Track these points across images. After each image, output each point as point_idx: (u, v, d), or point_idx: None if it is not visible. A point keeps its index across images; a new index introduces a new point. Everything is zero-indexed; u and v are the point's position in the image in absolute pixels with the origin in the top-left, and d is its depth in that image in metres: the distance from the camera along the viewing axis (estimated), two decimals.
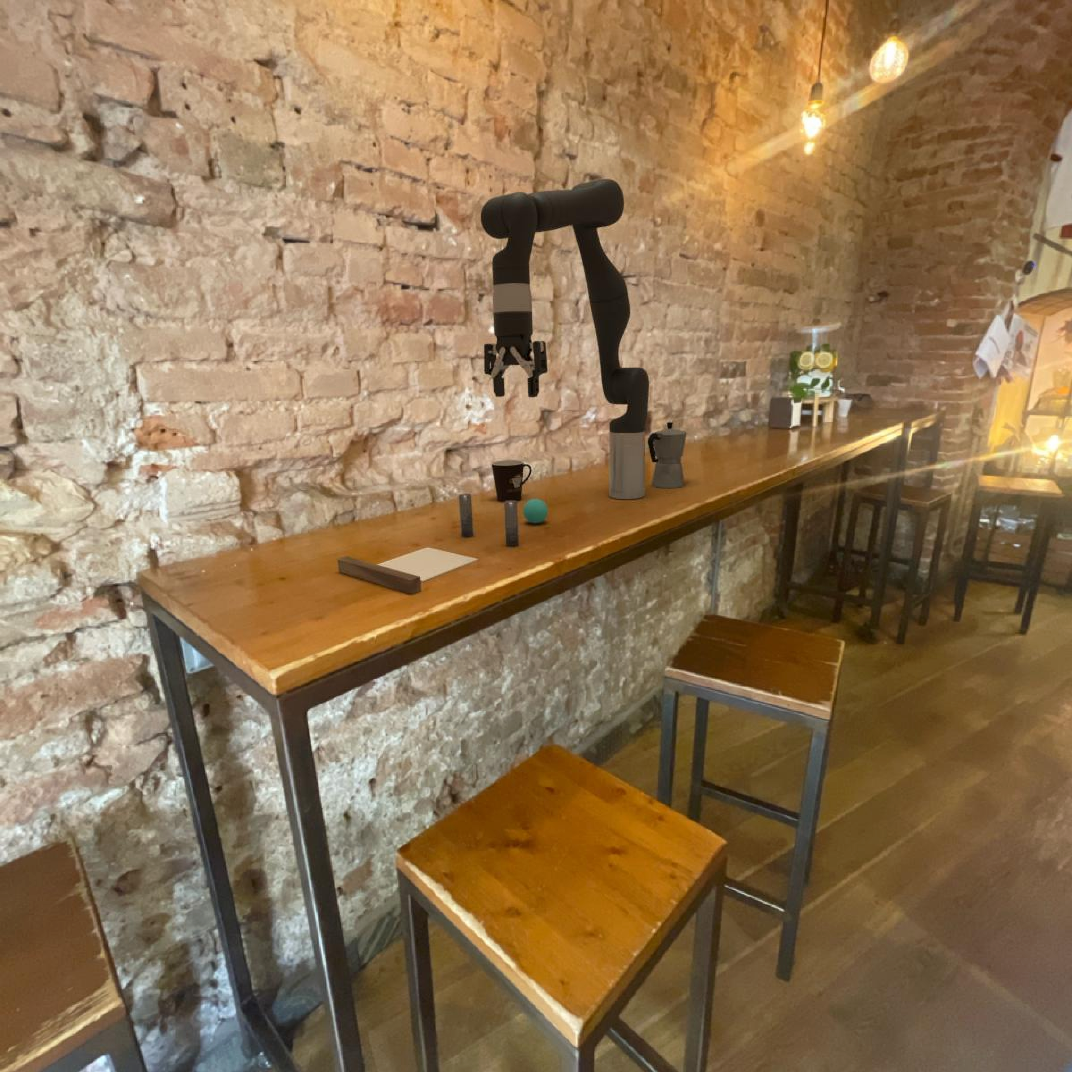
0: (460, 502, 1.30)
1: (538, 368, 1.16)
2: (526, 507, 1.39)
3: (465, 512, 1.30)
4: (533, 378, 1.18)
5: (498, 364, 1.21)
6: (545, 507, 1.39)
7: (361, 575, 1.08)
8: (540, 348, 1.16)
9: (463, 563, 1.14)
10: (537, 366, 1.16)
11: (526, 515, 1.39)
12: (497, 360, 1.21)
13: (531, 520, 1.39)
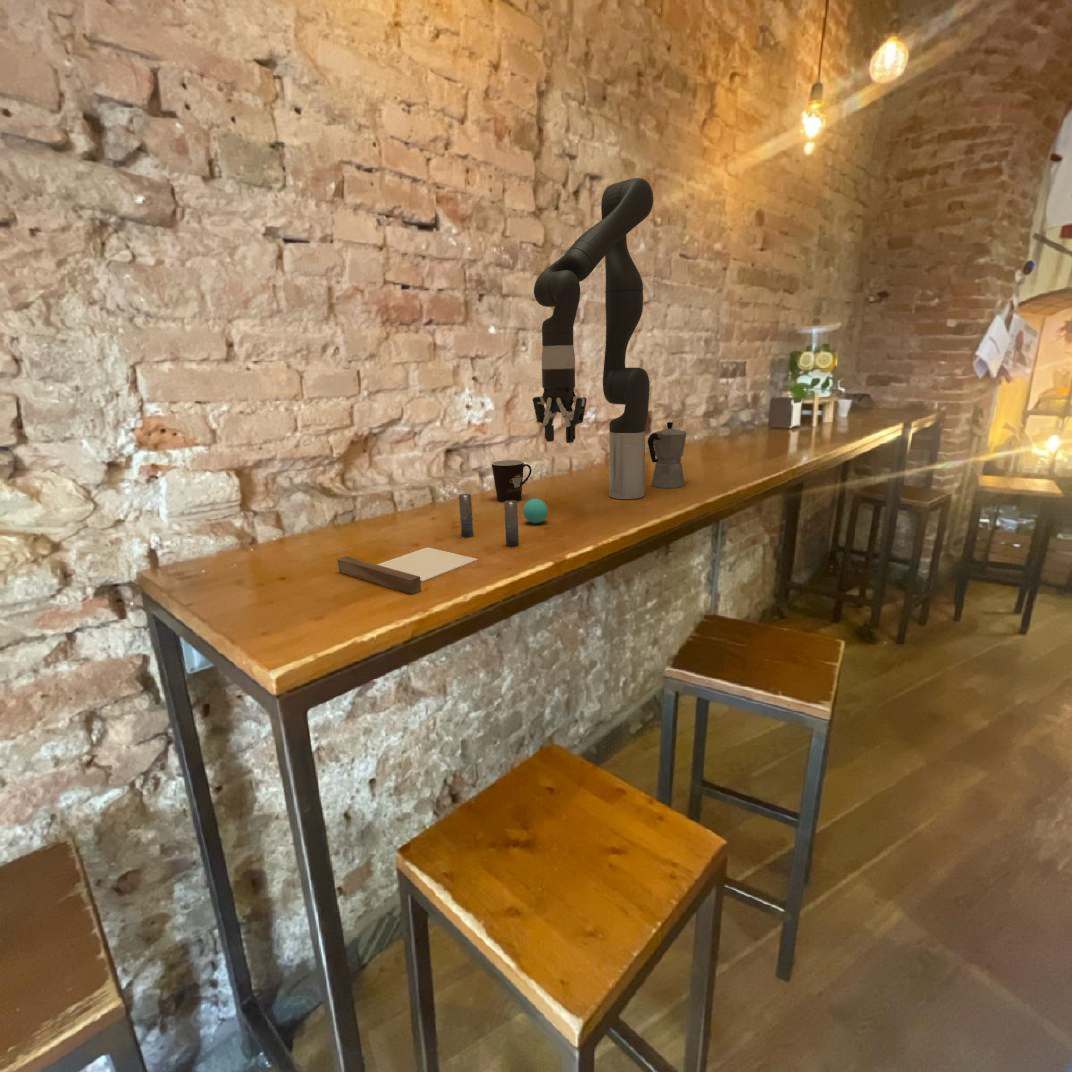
0: (460, 502, 1.30)
1: (576, 420, 1.38)
2: (526, 507, 1.39)
3: (465, 512, 1.30)
4: (570, 427, 1.40)
5: (548, 413, 1.42)
6: (545, 507, 1.39)
7: (361, 575, 1.08)
8: (581, 404, 1.37)
9: (463, 563, 1.14)
10: (575, 418, 1.38)
11: (526, 515, 1.39)
12: (546, 410, 1.42)
13: (531, 520, 1.39)
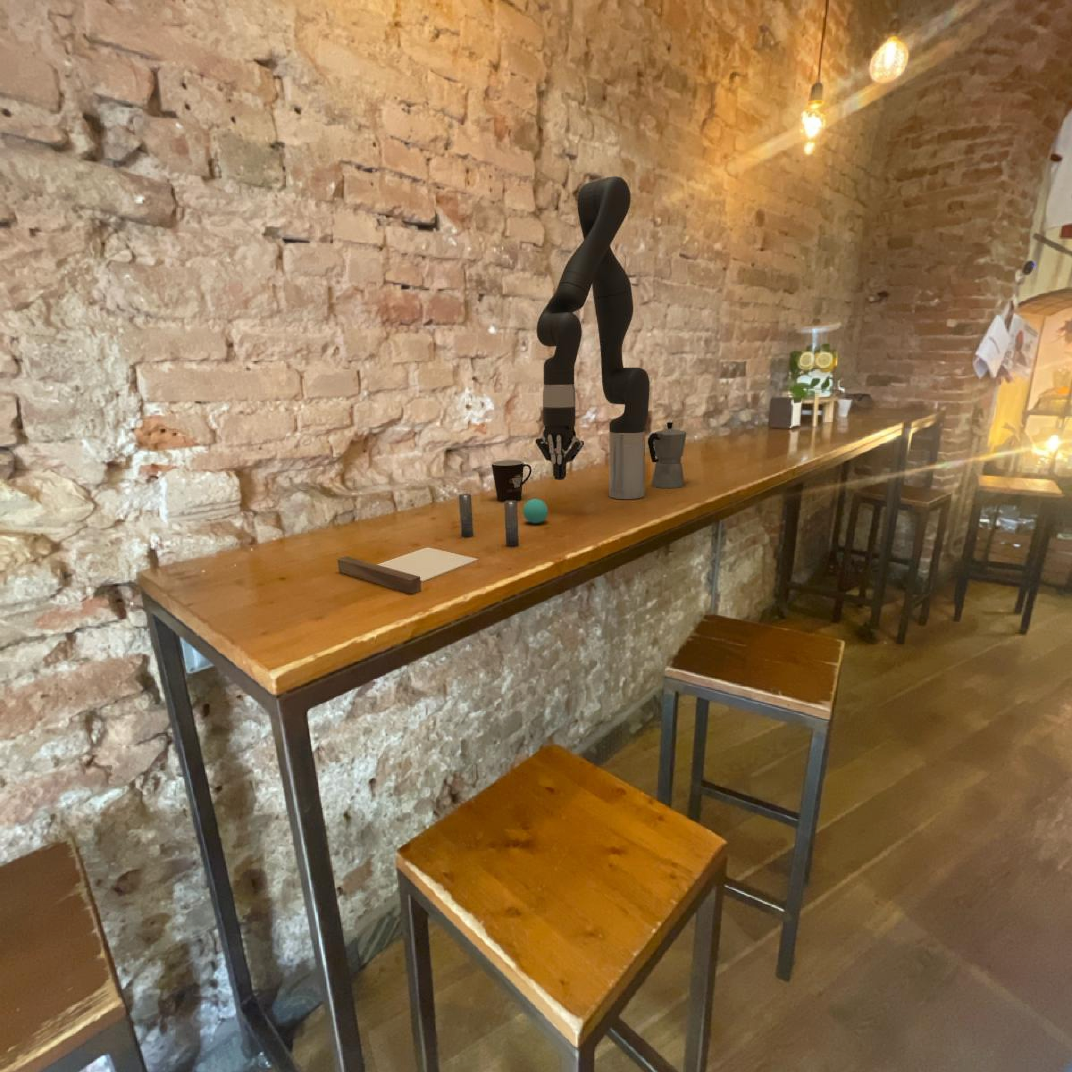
0: (460, 502, 1.30)
1: (567, 459, 1.42)
2: (526, 507, 1.39)
3: (465, 512, 1.30)
4: (561, 465, 1.44)
5: (552, 450, 1.43)
6: (545, 507, 1.39)
7: (361, 575, 1.08)
8: (577, 448, 1.40)
9: (463, 563, 1.14)
10: (567, 457, 1.42)
11: (526, 515, 1.39)
12: (550, 448, 1.44)
13: (531, 520, 1.39)
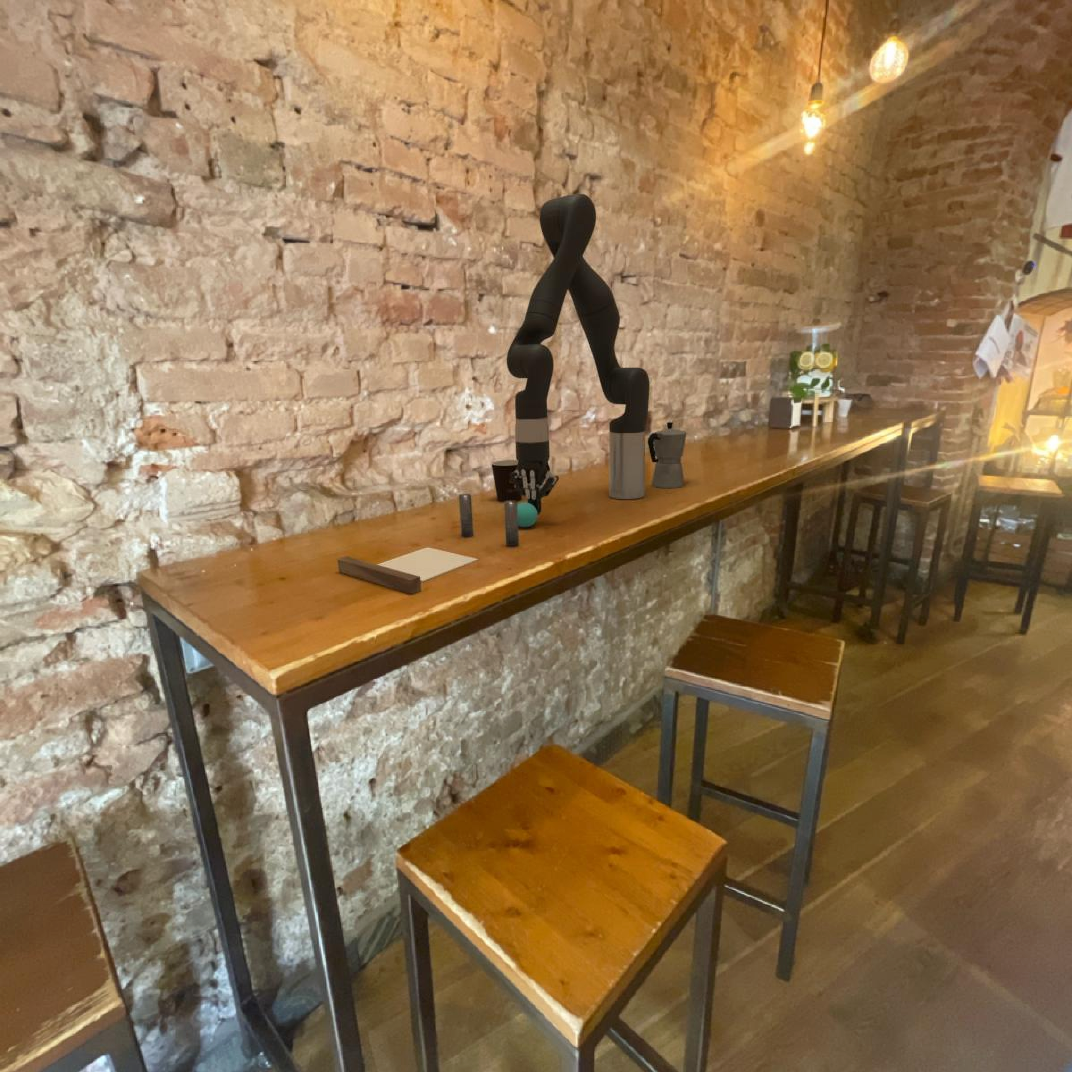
0: (460, 502, 1.30)
1: (541, 495, 1.37)
2: None
3: (465, 512, 1.30)
4: (536, 500, 1.39)
5: (526, 485, 1.38)
6: (531, 512, 1.35)
7: (361, 575, 1.08)
8: (551, 483, 1.35)
9: (463, 563, 1.14)
10: (541, 492, 1.36)
11: (520, 526, 1.38)
12: (524, 483, 1.38)
13: None
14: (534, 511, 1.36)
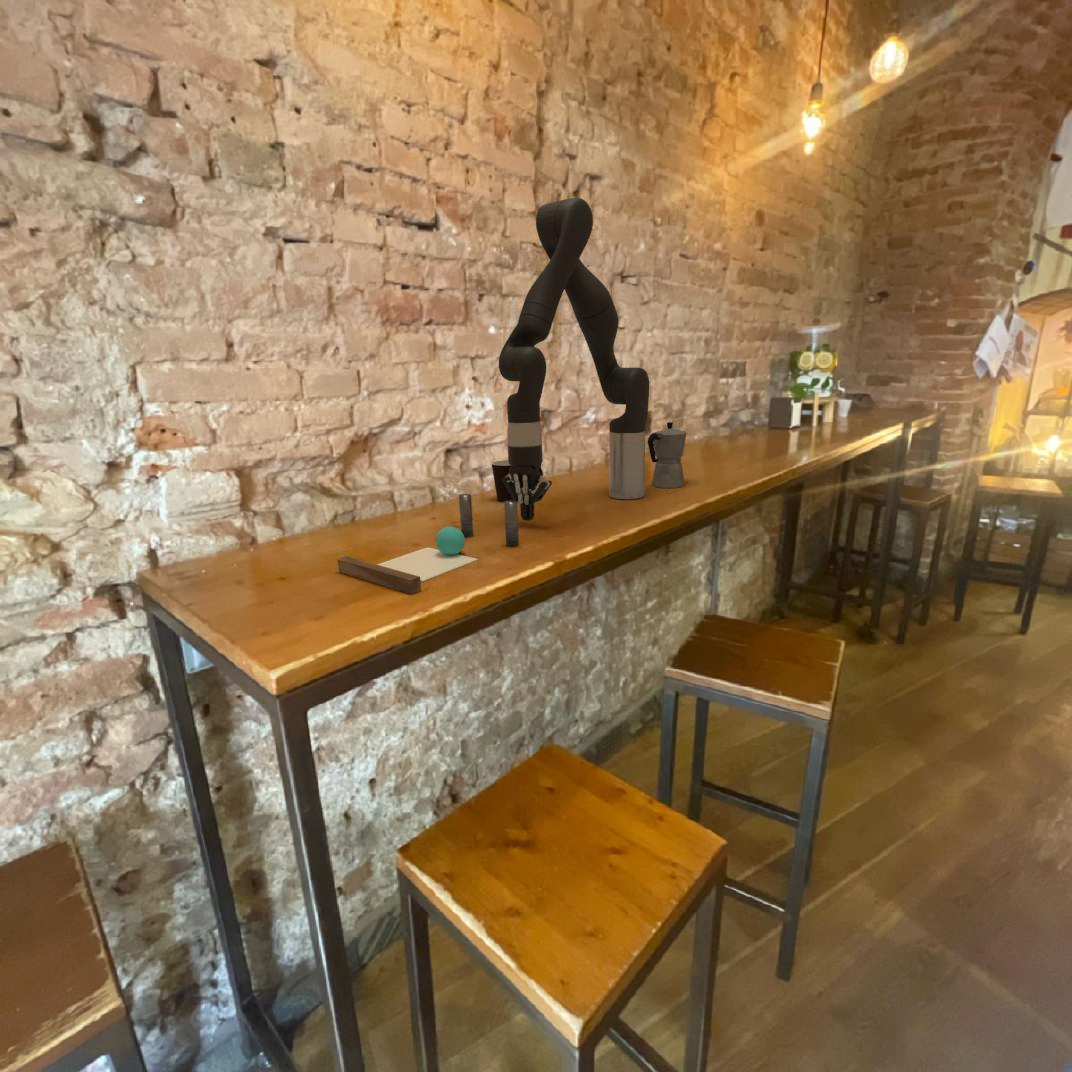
0: (460, 502, 1.30)
1: (534, 500, 1.34)
2: None
3: (465, 512, 1.30)
4: (529, 505, 1.36)
5: (519, 489, 1.36)
6: (458, 548, 1.18)
7: (361, 575, 1.08)
8: (544, 488, 1.33)
9: (463, 563, 1.14)
10: (534, 497, 1.34)
11: None
12: (517, 487, 1.36)
13: None
14: (456, 545, 1.17)
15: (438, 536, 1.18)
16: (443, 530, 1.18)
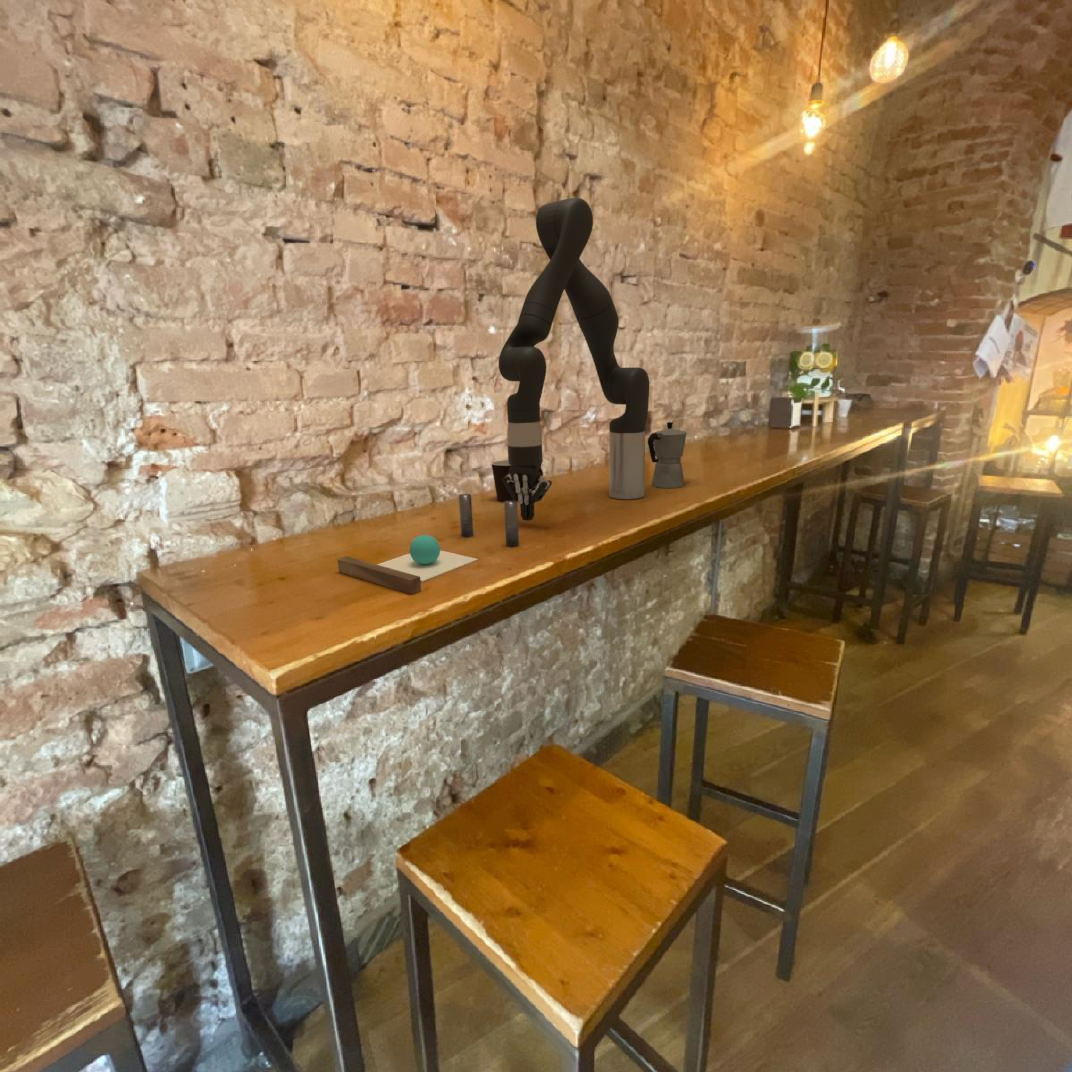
0: (460, 502, 1.30)
1: (534, 500, 1.34)
2: (418, 536, 1.14)
3: (465, 512, 1.30)
4: (529, 505, 1.36)
5: (519, 489, 1.36)
6: (438, 548, 1.14)
7: (361, 575, 1.08)
8: (544, 488, 1.33)
9: (463, 563, 1.14)
10: (534, 497, 1.34)
11: (413, 544, 1.13)
12: (517, 487, 1.36)
13: (415, 551, 1.12)
14: (438, 553, 1.14)
15: None
16: None
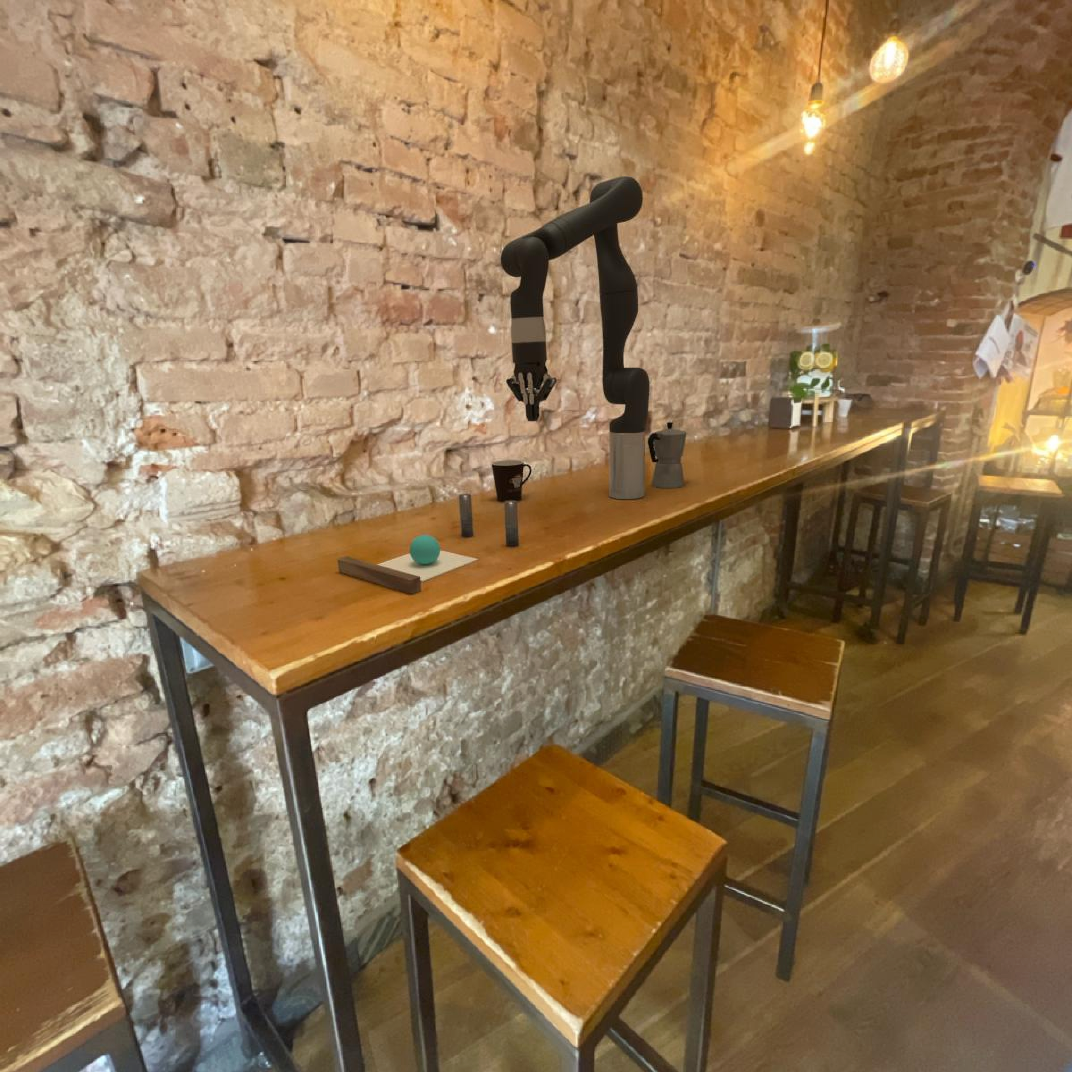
0: (460, 502, 1.30)
1: (539, 398, 1.34)
2: (418, 536, 1.14)
3: (465, 512, 1.30)
4: (534, 405, 1.36)
5: (524, 389, 1.35)
6: (438, 548, 1.14)
7: (361, 575, 1.08)
8: (549, 385, 1.32)
9: (463, 563, 1.14)
10: (539, 395, 1.34)
11: (413, 544, 1.13)
12: (522, 387, 1.36)
13: (415, 551, 1.12)
14: (438, 553, 1.14)
15: None
16: None
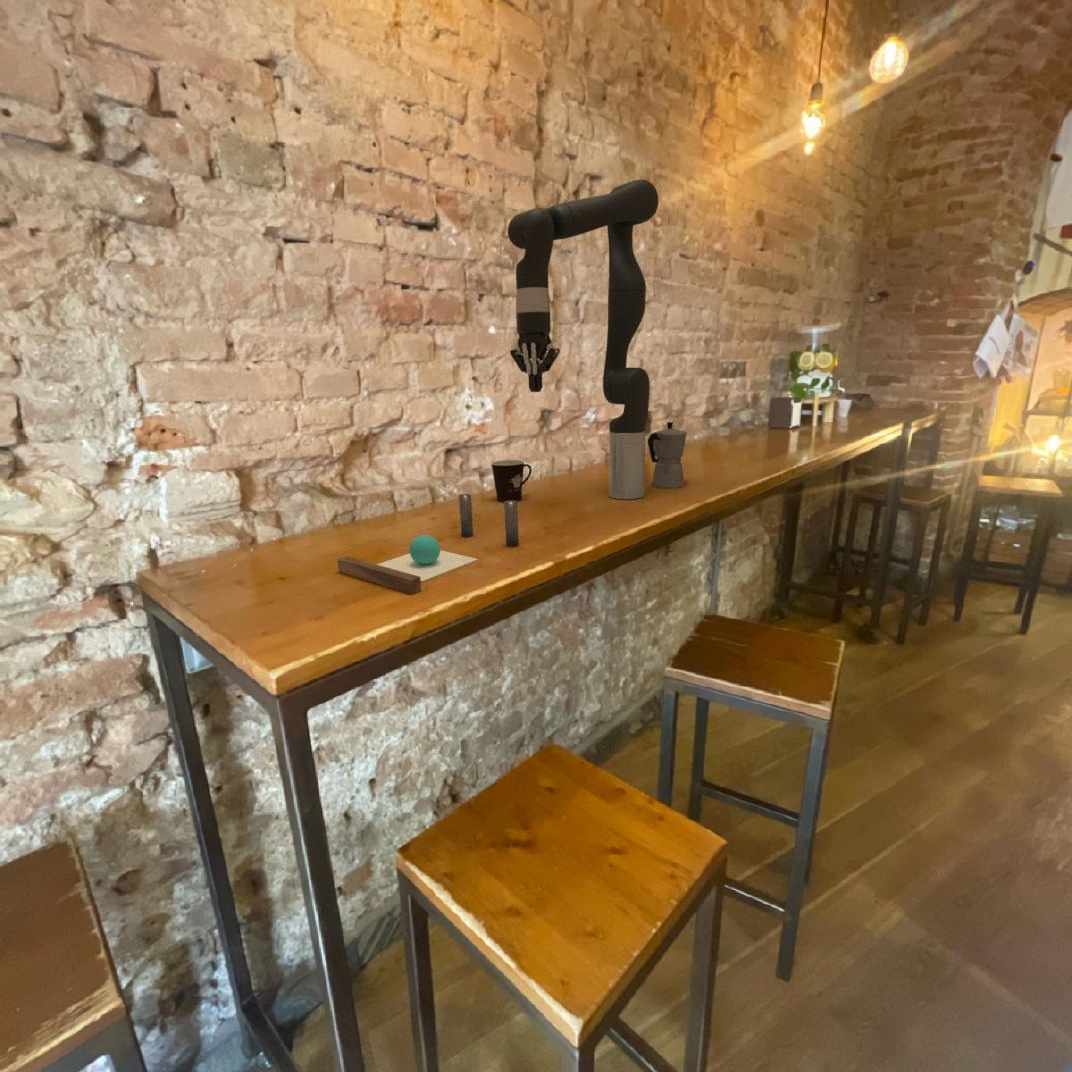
0: (460, 502, 1.30)
1: (542, 368, 1.36)
2: (418, 536, 1.14)
3: (465, 512, 1.30)
4: (537, 375, 1.38)
5: (527, 359, 1.37)
6: (438, 548, 1.14)
7: (361, 575, 1.08)
8: (552, 355, 1.35)
9: (463, 563, 1.14)
10: (542, 365, 1.36)
11: (413, 544, 1.13)
12: (525, 357, 1.38)
13: (415, 551, 1.12)
14: (438, 553, 1.14)
15: None
16: None
